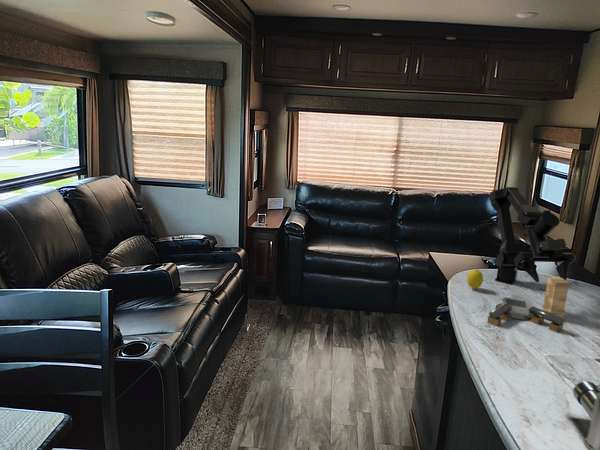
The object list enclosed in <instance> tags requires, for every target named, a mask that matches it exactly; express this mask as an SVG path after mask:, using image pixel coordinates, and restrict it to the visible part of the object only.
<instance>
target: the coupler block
mask: <svg viewBox="0 0 600 450" xmlns="http://www.w3.org/2000/svg"><path fill="white" fill-rule="evenodd" d="M569 287H570V281H567V279H566V280H564V279H562V278H560V277H547V283H546V288H545V293H544V300H543V304H542V310H544V311H546V312H549V313H551V314H554V315H556V316H559V317H561V318H564V315H565V311H566V310H565V308H566V304H567V297H568V292H569Z"/></svg>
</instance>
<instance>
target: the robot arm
mask: <svg viewBox="0 0 600 450" xmlns="http://www.w3.org/2000/svg"><path fill="white" fill-rule="evenodd" d="M488 200H489V202H490V205H491V207H492V208H493V209H494V210H495V211H496V215H497V221H498V226H499V232H500V238H501V246H500V249H499V254H498V255H497V256H496V257H495V258H494V265H495V266H497V273H496V278H494V280H495V281H497V282H501V283H505V284H509V285H513V283H515V282H516V281H517V280H518V279H517V277H518V273H519V272H518V270H517V269H518V268H520V269H522V270H524V272H526V273H527V274H528V275H529V276H530V277H531V278H532V279H533V280H534V282H535V283H539V282H540V278H539V274H538V271H537V268H536V263H539V262H540V263H554V265H555V266H556V267H555V269H556V271H557V274H558V276H559V278H562V279H564V280H566V281H567V279H568V278H567V276H568V268H569V266H570V265H571V264H573V263H574V262H575V261H577V259H576V256H575V254H574V253H571V252H561V253H560V254H558V255H557V256H553V255H555V254H557V251H562V250H563V249H565V248H566V246H567V244H566V241H565V239H564V238H558V239H557V238H556V239H554V240H551V239H549V240H548V238H547V235H549V234H550V233H552V232H553V231H554V230H555V229H556V227H558V225H560V218H559V217H558V216H557V215H556V214H554V213H552V212H551V210H549V209H548V210H547V209H544V210H543V211H540V210H539V209H538V208H536V207H533V206H532V205H530V204H529V203H528V201H527V200H526V199H525V197H524V196H523V195H522V193H521V192H520V189H519V188H518V187H516V186H515V187H514V186H506V187H503V188H500V189H493V190H491V192H490V193H489V195H488ZM511 206H512V207H513V209H515V211H516V212H517V214H518V215H517V217H516V219H517V221H518V222H519V224H520V226H522V227H528V229H526V230H525V232H524V234H523V237H527V240H528V243H529V247H528V251H524V249H523V245H522V244H521V243H518V242H517V241H516V236H515V231H514V226H513V220H512V215H511V210H510V209H511Z"/></svg>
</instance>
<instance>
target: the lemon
mask: <svg viewBox="0 0 600 450" xmlns="http://www.w3.org/2000/svg"><path fill="white" fill-rule="evenodd" d="M483 277H484V276H483V272H481V271H480V270H479V269H477V268H475V269H471V270H470V271H469V272H468V274H467V277H466V281H467V285H468V286H469V287H470V288H472V289H473V290H475V289H477V288H479V287H481V286H482V285H483V282H484V278H483Z"/></svg>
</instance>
